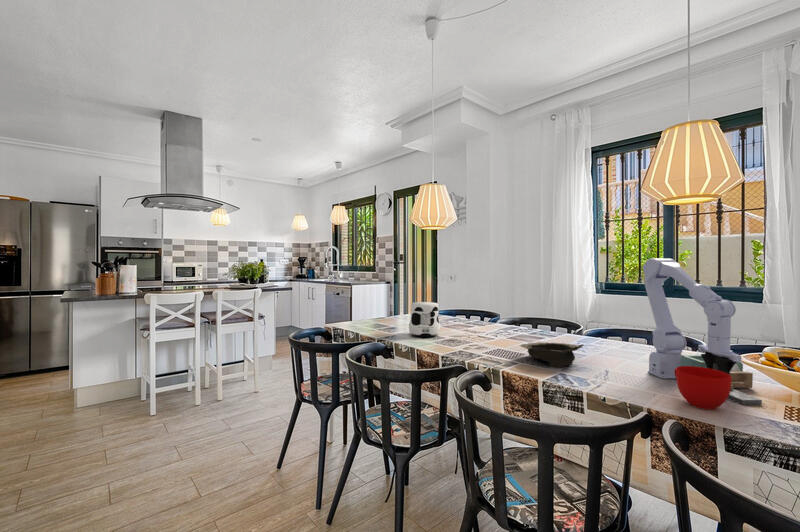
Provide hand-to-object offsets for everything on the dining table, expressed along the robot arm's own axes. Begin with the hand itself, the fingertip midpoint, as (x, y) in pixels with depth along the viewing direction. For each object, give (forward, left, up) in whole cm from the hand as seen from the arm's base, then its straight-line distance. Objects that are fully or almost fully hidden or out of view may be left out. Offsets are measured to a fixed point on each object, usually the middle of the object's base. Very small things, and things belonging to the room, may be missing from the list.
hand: (717, 377), depth 126 cm
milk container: (-90, +88, -5) cm, 127 cm away
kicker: (+6, 0, -4) cm, 7 cm away
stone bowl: (-41, +35, -5) cm, 55 cm away
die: (+10, +8, -4) cm, 13 cm away
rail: (0, -3, -4) cm, 5 cm away
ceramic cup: (-15, -11, -5) cm, 19 cm away
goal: (+10, +14, -4) cm, 18 cm away
